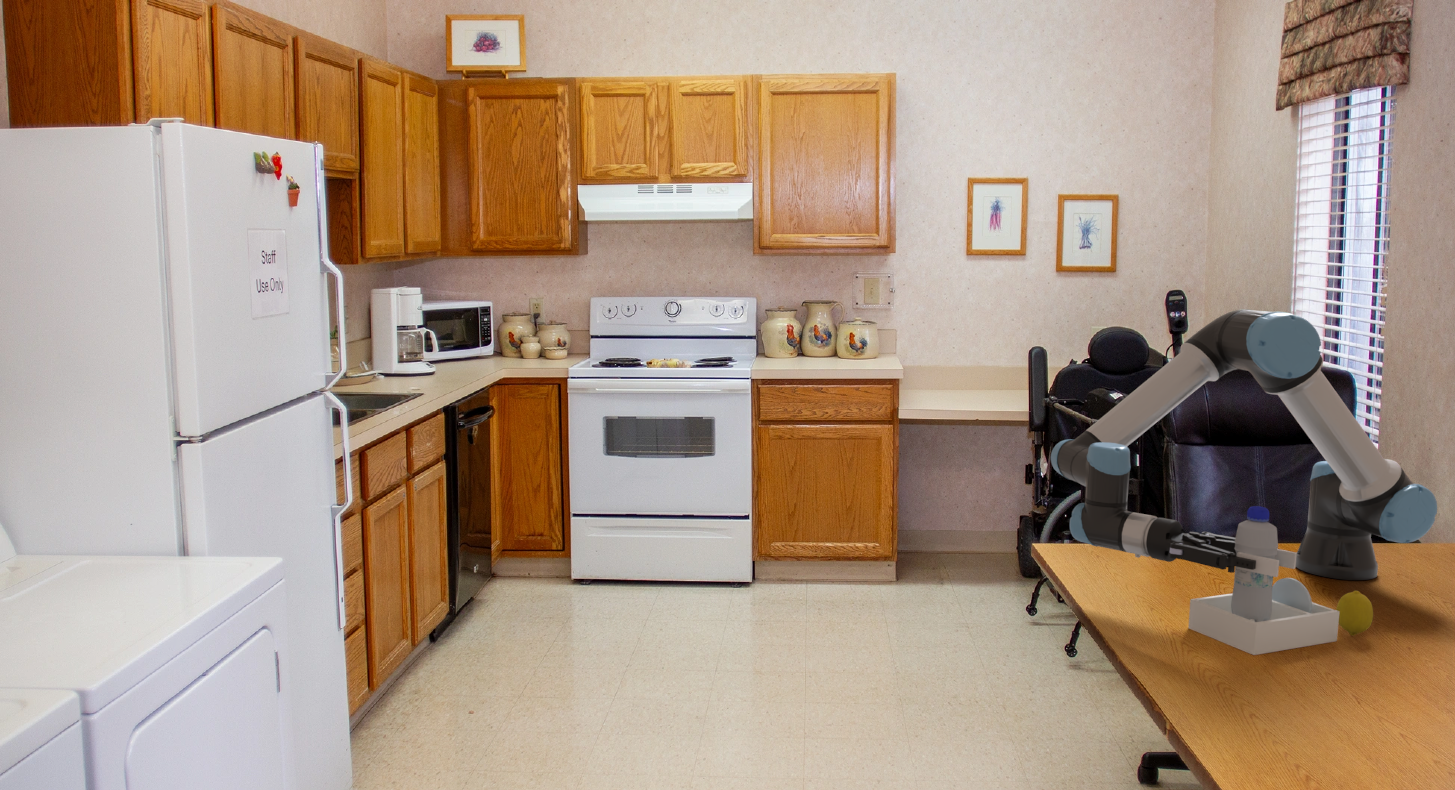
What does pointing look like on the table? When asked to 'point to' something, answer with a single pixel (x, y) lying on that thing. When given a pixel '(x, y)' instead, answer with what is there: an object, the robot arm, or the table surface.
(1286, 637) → the divided tray
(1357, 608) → the lemon
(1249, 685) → the table surface
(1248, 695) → the table surface
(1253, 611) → the bottle
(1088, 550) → the table surface
